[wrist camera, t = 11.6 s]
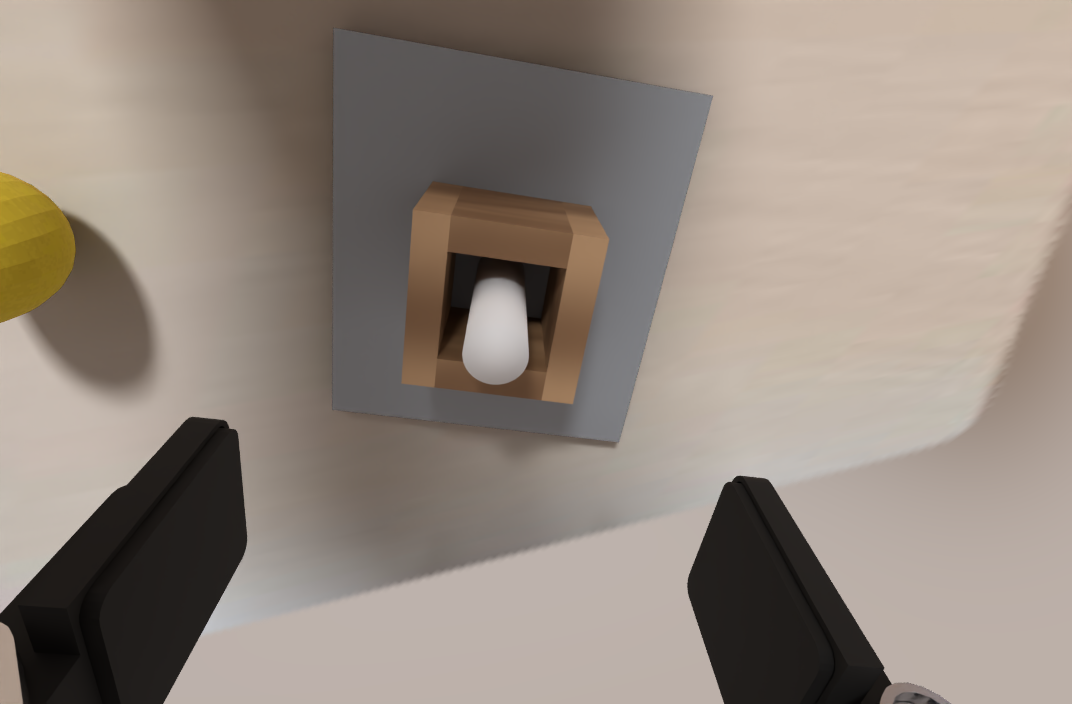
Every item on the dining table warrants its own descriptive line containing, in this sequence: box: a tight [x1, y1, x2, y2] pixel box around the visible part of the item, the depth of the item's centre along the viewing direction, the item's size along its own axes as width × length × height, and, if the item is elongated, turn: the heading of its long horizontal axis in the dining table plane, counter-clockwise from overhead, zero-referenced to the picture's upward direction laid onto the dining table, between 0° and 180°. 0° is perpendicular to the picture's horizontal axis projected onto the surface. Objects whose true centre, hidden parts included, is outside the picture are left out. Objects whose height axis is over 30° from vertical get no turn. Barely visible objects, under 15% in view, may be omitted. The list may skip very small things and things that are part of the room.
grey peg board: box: [332, 28, 713, 442], centre depth 21 cm, size 16×14×9 cm
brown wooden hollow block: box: [401, 181, 609, 404], centre depth 22 cm, size 6×6×5 cm
